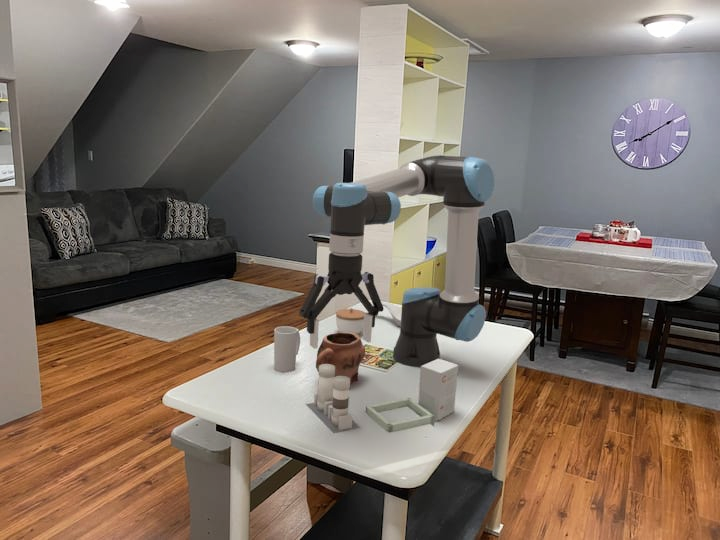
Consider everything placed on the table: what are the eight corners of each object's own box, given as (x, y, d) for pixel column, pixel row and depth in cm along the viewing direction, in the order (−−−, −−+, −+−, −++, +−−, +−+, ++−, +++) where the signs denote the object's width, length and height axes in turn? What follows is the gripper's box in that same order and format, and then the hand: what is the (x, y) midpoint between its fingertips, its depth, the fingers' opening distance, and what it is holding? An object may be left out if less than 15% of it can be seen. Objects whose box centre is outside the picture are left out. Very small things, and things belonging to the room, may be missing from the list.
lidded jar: (330, 330, 206) (331, 305, 204) (357, 327, 210) (358, 303, 208) (342, 339, 196) (343, 314, 194) (369, 337, 201) (371, 311, 199)
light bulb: (343, 417, 137) (345, 374, 135) (350, 424, 134) (353, 381, 131) (328, 420, 135) (330, 377, 133) (335, 427, 132) (337, 383, 129)
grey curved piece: (429, 327, 217) (431, 309, 216) (413, 334, 208) (415, 315, 206) (378, 314, 231) (379, 297, 229) (361, 320, 221) (362, 302, 220)
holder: (330, 404, 147) (332, 359, 144) (360, 433, 133) (363, 383, 130) (305, 409, 143) (307, 363, 141) (333, 439, 130) (335, 388, 127)
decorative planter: (338, 402, 148) (340, 352, 145) (299, 391, 154) (301, 342, 151) (372, 377, 166) (375, 332, 163) (336, 368, 171) (338, 324, 168)
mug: (285, 374, 164) (287, 335, 162) (268, 368, 168) (269, 330, 165) (307, 364, 173) (309, 327, 170) (290, 359, 176) (291, 322, 174)
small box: (434, 403, 151) (438, 357, 148) (454, 412, 147) (459, 364, 144) (416, 413, 145) (420, 365, 142) (437, 422, 141) (441, 372, 138)
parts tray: (408, 408, 147) (409, 397, 147) (433, 427, 138) (434, 416, 137) (365, 417, 141) (365, 406, 140) (388, 437, 132) (389, 426, 131)
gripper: (299, 258, 117) (296, 355, 122) (402, 254, 129) (395, 343, 133) (287, 251, 124) (283, 343, 128) (385, 248, 135) (379, 333, 140)
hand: (340, 343), depth 131 cm, fingers open, 13 cm apart
